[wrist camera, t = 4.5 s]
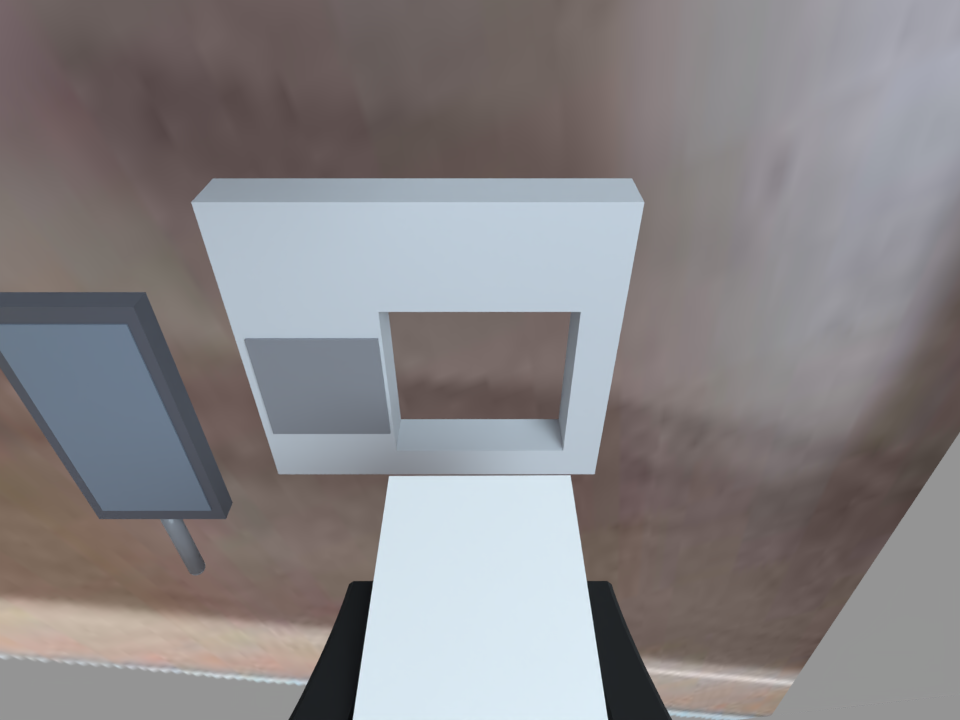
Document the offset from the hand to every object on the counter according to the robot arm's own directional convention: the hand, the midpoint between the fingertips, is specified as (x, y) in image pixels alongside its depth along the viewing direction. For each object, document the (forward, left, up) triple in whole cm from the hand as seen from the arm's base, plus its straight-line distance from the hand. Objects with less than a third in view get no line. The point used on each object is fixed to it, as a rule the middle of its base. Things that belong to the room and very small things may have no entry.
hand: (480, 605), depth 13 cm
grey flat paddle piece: (-12, -5, -8) cm, 16 cm away
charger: (0, 0, -2) cm, 2 cm away
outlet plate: (-2, +1, -8) cm, 9 cm away
